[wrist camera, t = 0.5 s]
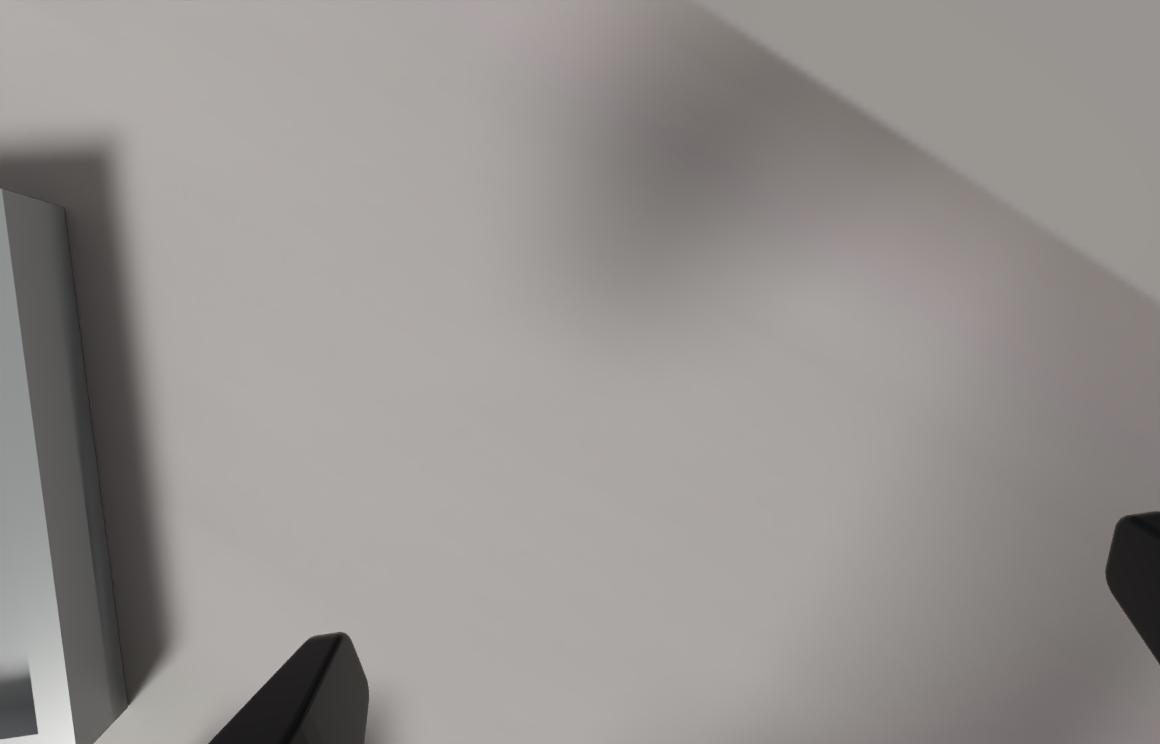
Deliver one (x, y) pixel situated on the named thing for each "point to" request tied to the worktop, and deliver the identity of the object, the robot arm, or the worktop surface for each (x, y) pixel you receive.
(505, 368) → the worktop surface
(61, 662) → the tray
